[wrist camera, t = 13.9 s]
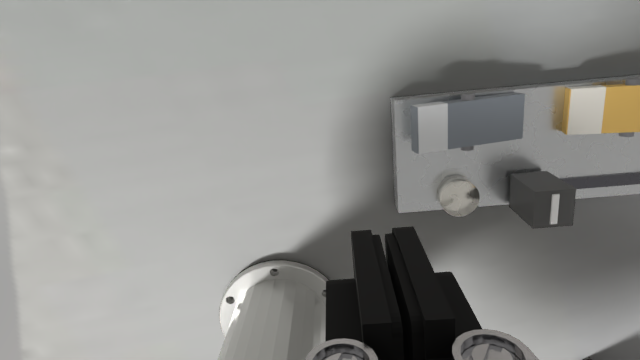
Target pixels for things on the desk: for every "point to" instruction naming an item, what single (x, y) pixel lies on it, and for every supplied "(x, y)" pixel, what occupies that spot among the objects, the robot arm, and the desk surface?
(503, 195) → the panel
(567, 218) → the slider knob
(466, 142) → the slate rocker
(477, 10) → the desk surface
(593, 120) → the amber rocker
